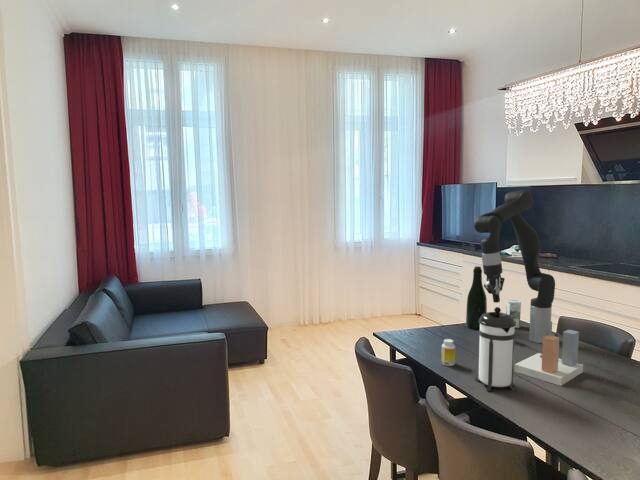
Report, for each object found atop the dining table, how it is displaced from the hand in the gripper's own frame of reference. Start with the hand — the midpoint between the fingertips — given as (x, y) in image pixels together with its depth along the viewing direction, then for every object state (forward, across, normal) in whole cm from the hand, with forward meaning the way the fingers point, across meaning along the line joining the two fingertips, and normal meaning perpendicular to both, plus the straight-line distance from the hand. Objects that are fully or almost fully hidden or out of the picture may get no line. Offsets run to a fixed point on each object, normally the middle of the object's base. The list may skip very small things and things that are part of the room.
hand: (496, 302), depth 193 cm
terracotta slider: (+24, +5, +22) cm, 33 cm away
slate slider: (+26, -8, +24) cm, 36 cm away
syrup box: (+30, -47, -22) cm, 60 cm away
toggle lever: (+24, -8, +14) cm, 29 cm away
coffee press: (+24, +27, +11) cm, 37 cm away
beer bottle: (+27, -32, -34) cm, 54 cm away
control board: (+28, -1, +20) cm, 34 cm away
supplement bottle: (+22, +23, -12) cm, 34 cm away
